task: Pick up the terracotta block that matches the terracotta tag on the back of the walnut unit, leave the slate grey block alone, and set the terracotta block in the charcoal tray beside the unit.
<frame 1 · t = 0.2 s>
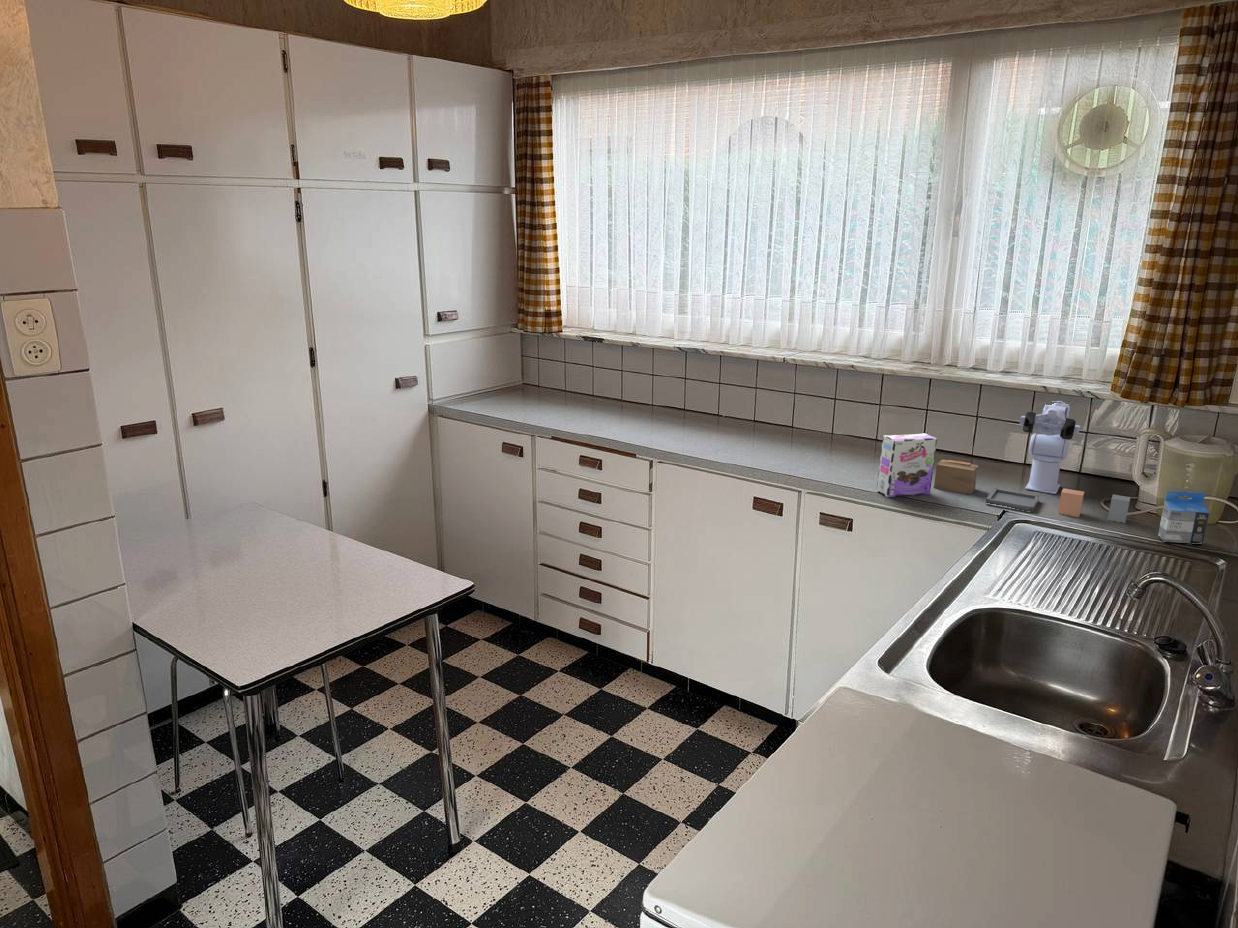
hand: (1045, 430, 228), 21 cm above the kitchen counter, tool horizontal, fingers open, 7 cm apart
walnut unit: (954, 488, 249), on the kitchen counter
candy box: (903, 493, 244), on the kitchen counter
terracotta block: (1069, 513, 230), on the kitchen counter
slate grey block: (1116, 519, 226), on the kitchen counter
charcoal tray: (1012, 502, 237), on the kitchen counter
label tape box: (1179, 542, 212), on the kitchen counter
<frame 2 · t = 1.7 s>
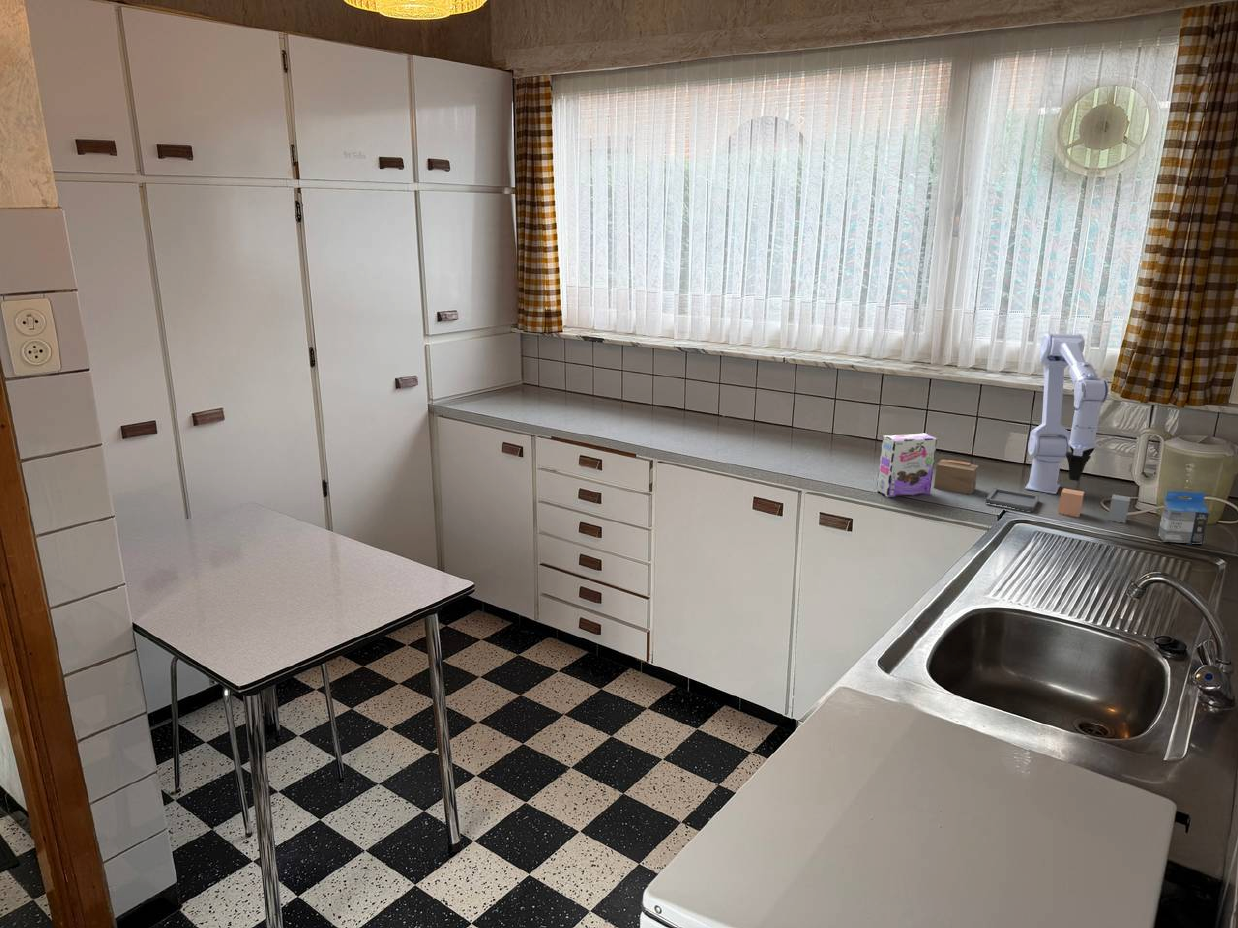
hand: (1075, 476, 227), 10 cm above the kitchen counter, tool pointing down, fingers open, 7 cm apart
nothing on the kitchen counter moved.
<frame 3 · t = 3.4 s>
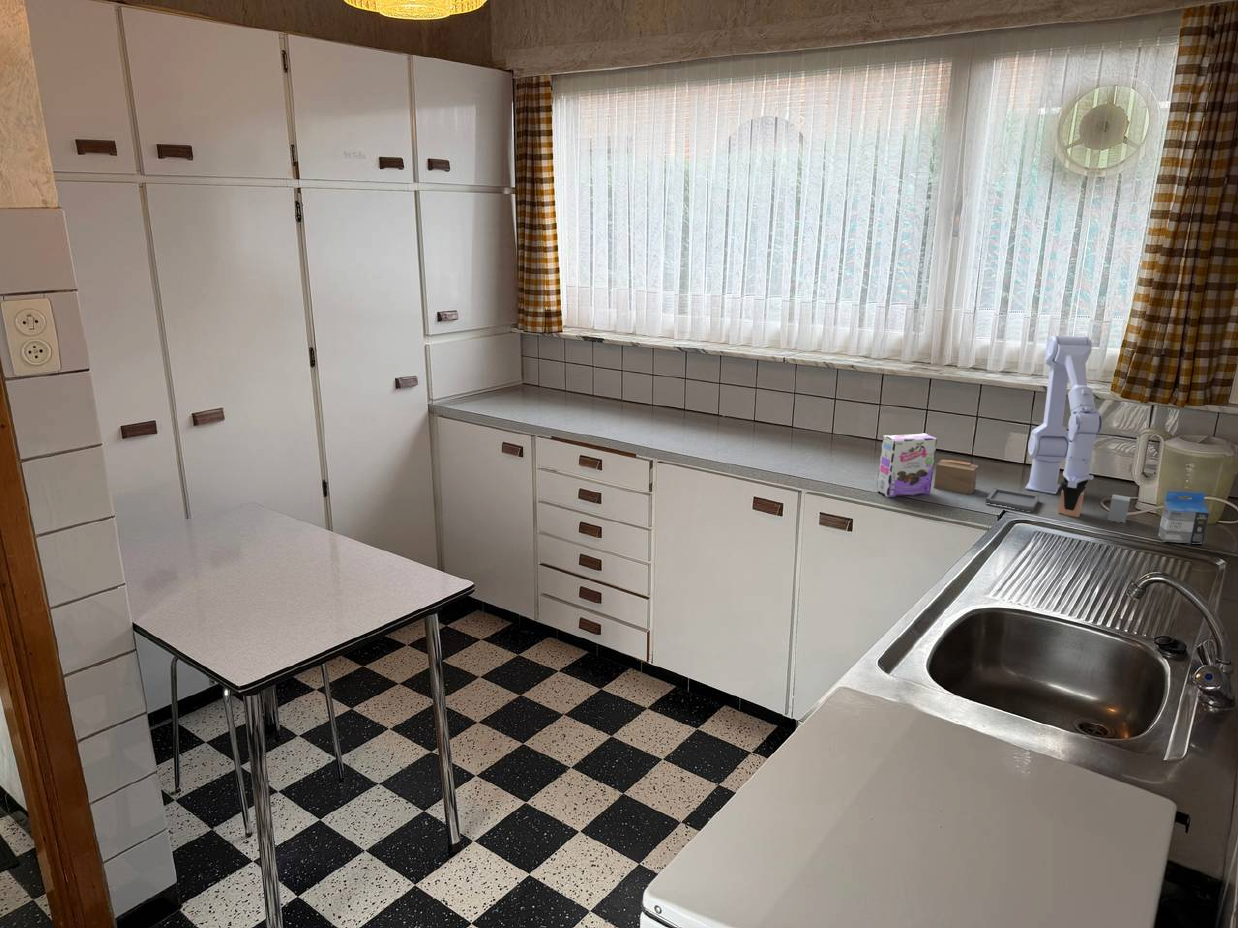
hand: (1070, 507, 230), 2 cm above the kitchen counter, tool pointing down, fingers closed on terracotta block, 4 cm apart
terracotta block: (1069, 513, 230), on the kitchen counter, touching gripper
everything else where it was.
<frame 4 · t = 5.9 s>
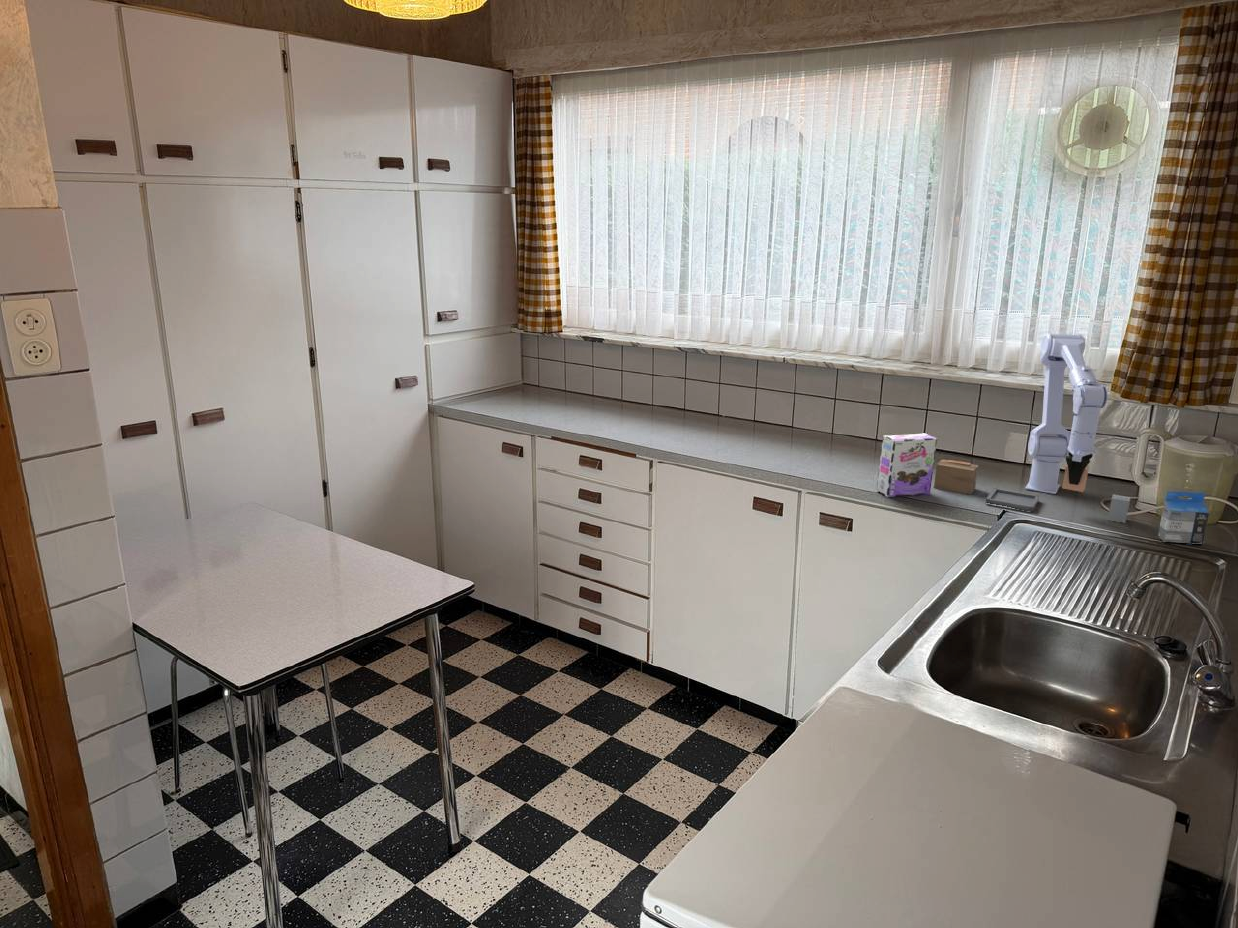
hand: (1074, 481, 228), 9 cm above the kitchen counter, tool pointing down, fingers closed on terracotta block, 4 cm apart
terracotta block: (1073, 488, 228), point 7 cm above the kitchen counter, touching gripper
everything else where it was.
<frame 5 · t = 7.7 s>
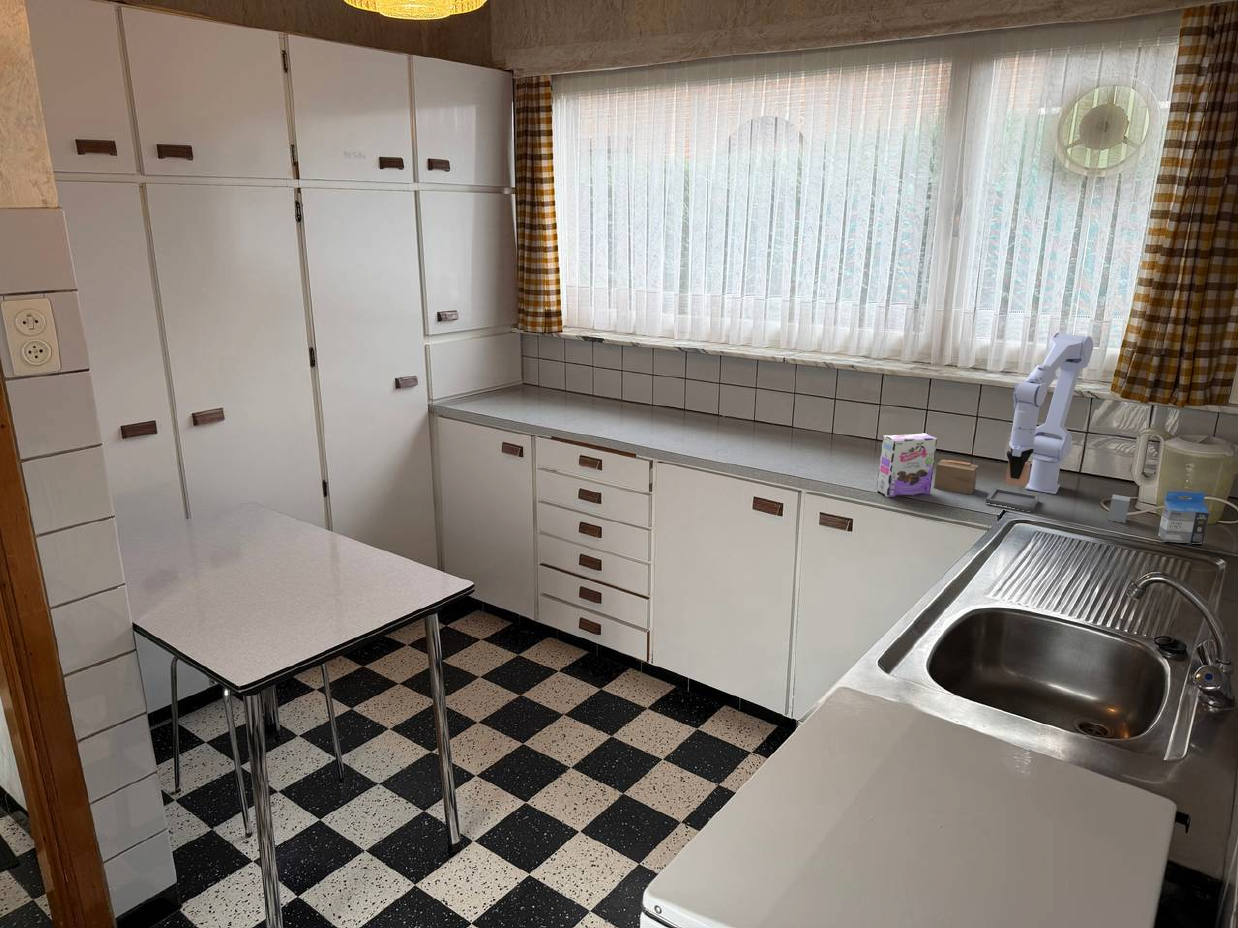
hand: (1016, 476, 235), 8 cm above the kitchen counter, tool pointing down, fingers closed on terracotta block, 4 cm apart
terracotta block: (1016, 482, 236), point 6 cm above the kitchen counter, touching gripper
everything else where it was.
when the fingers open (4 cm above the kitchen counter, at t = 8.8 s): terracotta block drops 1 cm, resting on charcoal tray.
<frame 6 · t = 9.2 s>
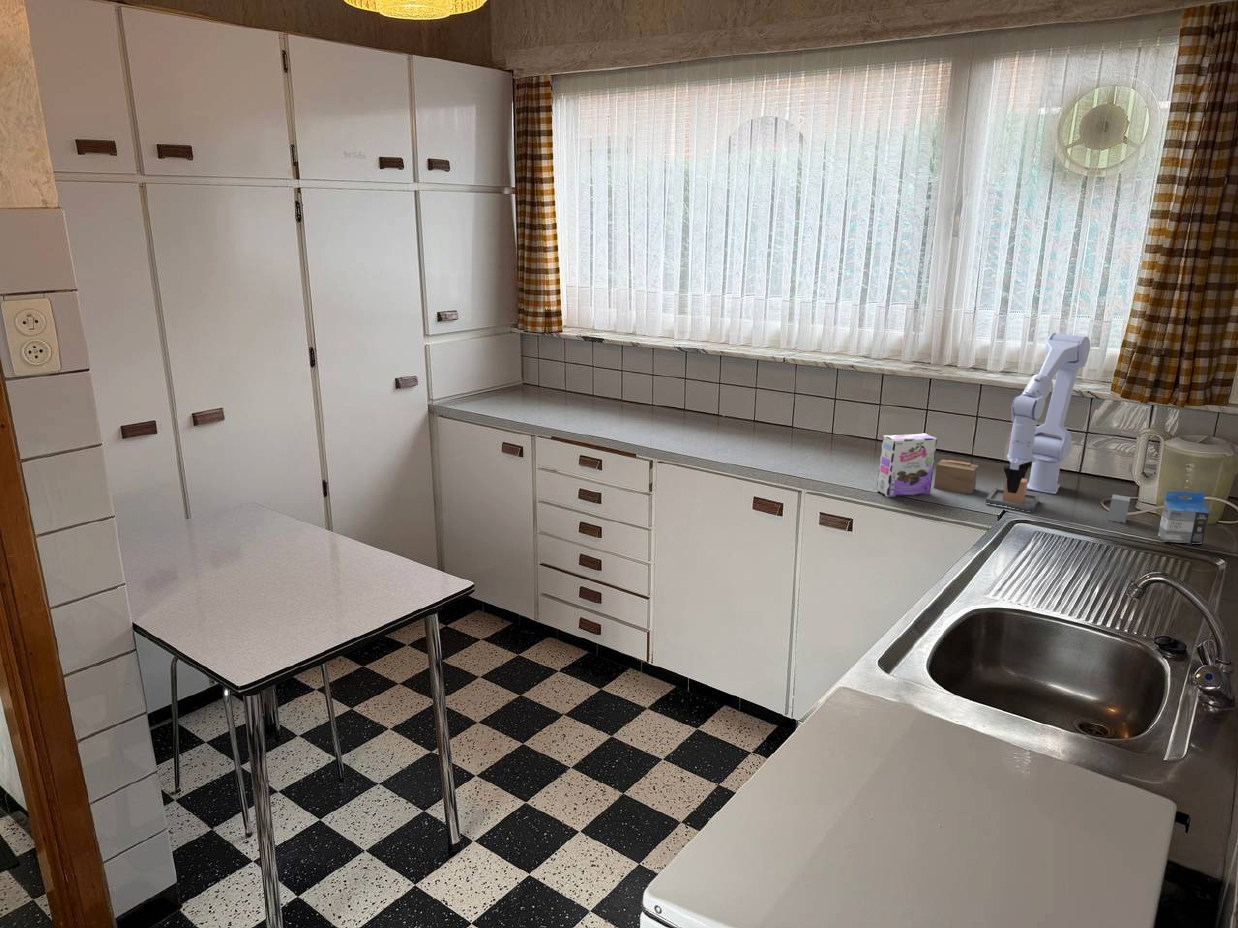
hand: (1014, 488, 236), 4 cm above the kitchen counter, tool pointing down, fingers open, 7 cm apart
terracotta block: (1013, 500, 237), point 1 cm above the kitchen counter, touching charcoal tray
everything else where it was.
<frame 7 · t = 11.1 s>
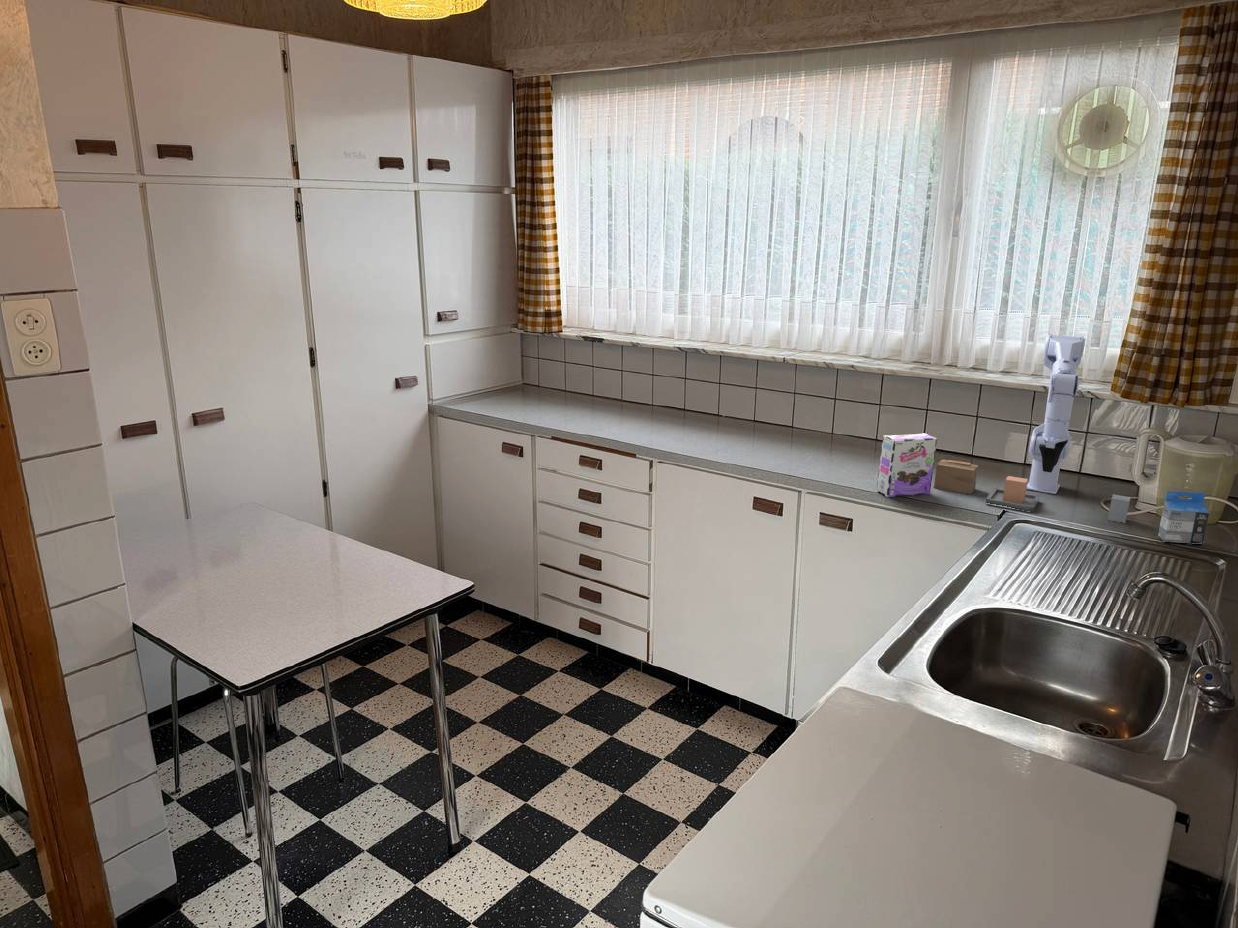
hand: (1049, 468, 233), 10 cm above the kitchen counter, tool pointing down, fingers open, 7 cm apart
nothing on the kitchen counter moved.
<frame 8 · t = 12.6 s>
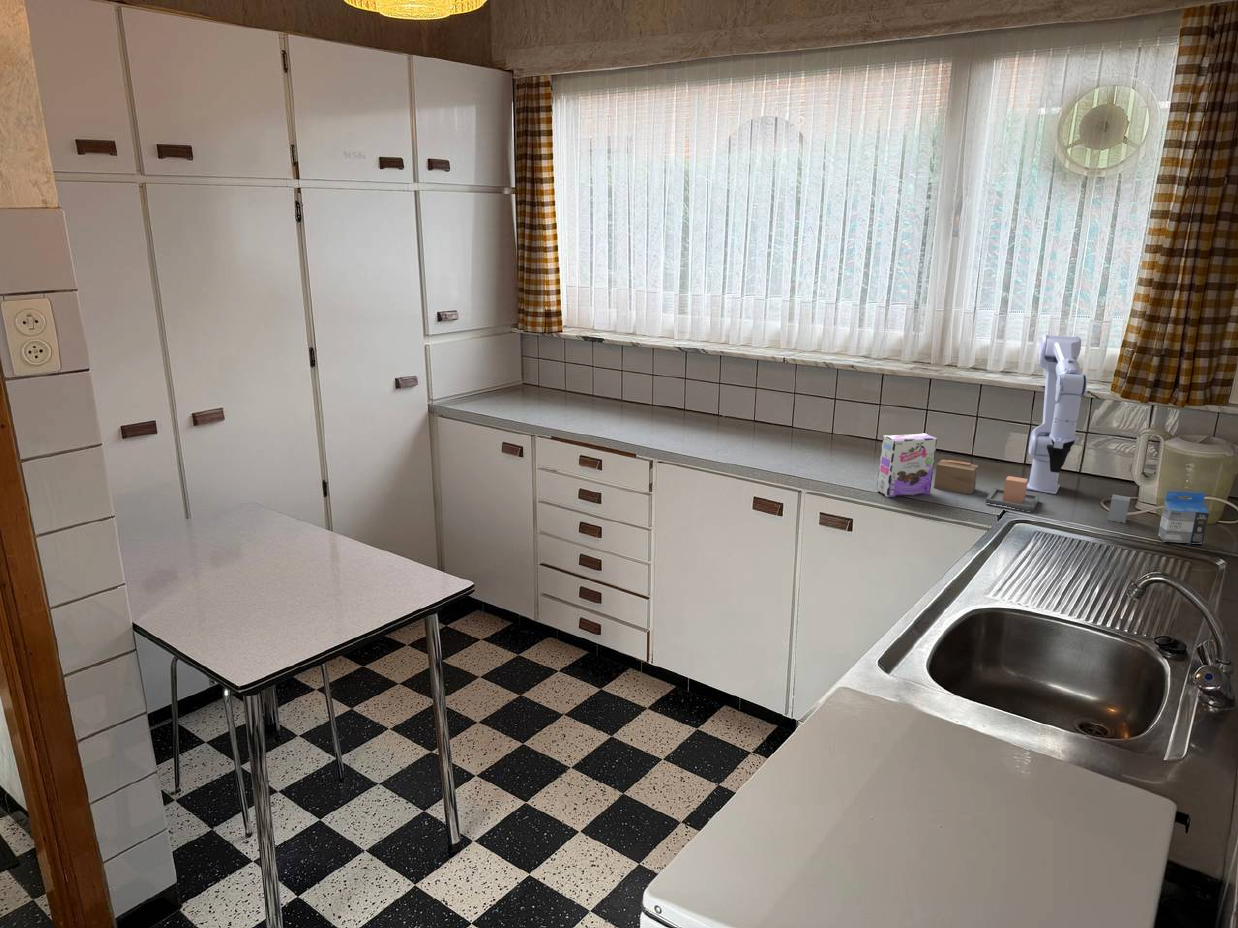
hand: (1056, 468, 233), 10 cm above the kitchen counter, tool pointing down, fingers open, 7 cm apart
nothing on the kitchen counter moved.
at the end: terracotta block 0.2 cm off-centre on the charcoal tray, point 0.8 cm above the charcoal tray's base; terracotta block tilted 0°; slate grey block moved 0.1 cm from its start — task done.
